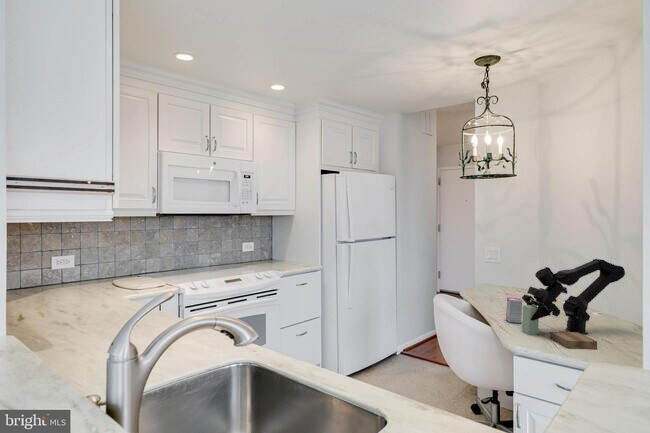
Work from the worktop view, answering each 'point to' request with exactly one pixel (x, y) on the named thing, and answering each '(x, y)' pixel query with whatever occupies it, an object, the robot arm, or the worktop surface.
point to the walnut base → (573, 340)
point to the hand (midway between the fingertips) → (527, 318)
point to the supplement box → (514, 310)
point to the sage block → (529, 320)
